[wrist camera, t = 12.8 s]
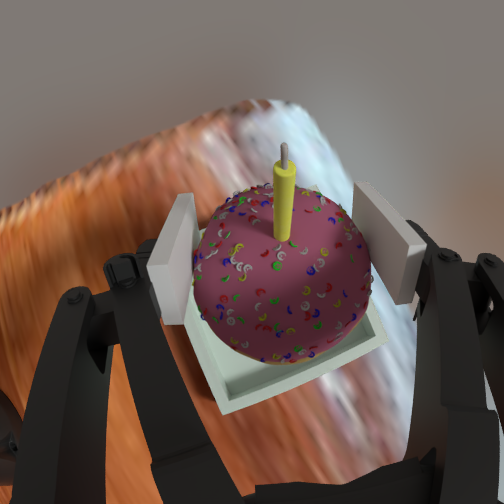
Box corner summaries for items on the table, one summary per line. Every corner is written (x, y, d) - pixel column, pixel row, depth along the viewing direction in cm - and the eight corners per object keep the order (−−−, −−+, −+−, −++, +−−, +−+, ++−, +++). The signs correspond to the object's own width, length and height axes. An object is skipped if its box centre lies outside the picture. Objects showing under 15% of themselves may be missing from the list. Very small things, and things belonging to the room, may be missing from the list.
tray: (167, 257, 32) (156, 248, 29) (311, 198, 33) (316, 184, 30) (226, 406, 29) (222, 415, 25) (376, 340, 30) (389, 340, 26)
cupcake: (196, 233, 20) (125, 119, 9) (326, 205, 20) (387, 76, 9) (224, 370, 18) (169, 429, 7) (361, 336, 18) (485, 336, 7)
